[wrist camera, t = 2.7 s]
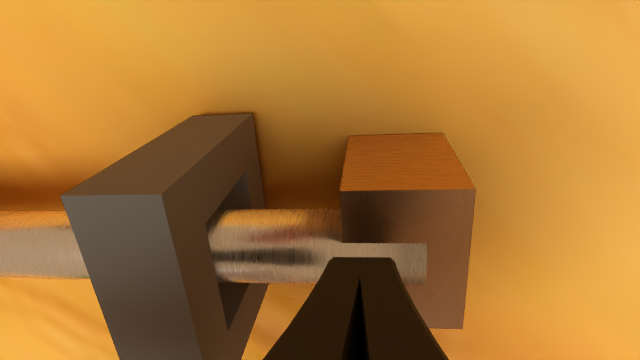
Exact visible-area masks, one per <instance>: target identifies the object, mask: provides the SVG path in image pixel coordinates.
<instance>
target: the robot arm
mask: <svg viewBox="0 0 640 360" xmlns="http://www.w3.org/2000/svg"><path fill="white" fill-rule="evenodd" d="M263 360H449V359H448V358H447V356H446V355H445V353H444V352H443V350H442V349H441V347H440V346H439V344H438V343H437V341H436V340H435V338H434V337H433V335H432V333H431V332H430V330H429V328H428V327H427V325H426V323H425V322H424V320H423V318H422V317H421V315H420V313H419V312H418V310H417V308H416V306H415V305H414V303H413V301H412V299H411V297H410V295H409V293H408V291H407V289H406V287H405V285H404V283H403V281H402V279H401V277H400V274H399V272H398V269H397V266H396V263H395V261H393V260H392V259H391V258H390V257H333V258H332V259H330V260H329V261H328V263H327V265H326V267H325V269H324V271H323V273H322V275H321V277H320V278H319V280H318V282H317V284H316V285H315V287H314V289H313V290H312V292H311V293H310V295H309V297H308V298H307V300H306V301H305V303H304V304H303V306H302V307H301V309H300V310H299V312H298V313H297V315H296V316H295V317H294V319H293V320H292V322H291V323H290V325H289V326H288V328H287V329H286V330H285V332H284V333H283V334H282V335H281V337H280V338H279V339H278V341H277V342H276V343H275V344H274V346H273V347H272V348H271V350H270V351H269V352H268V354H267V355H266V356H265V357H264V359H263Z"/></svg>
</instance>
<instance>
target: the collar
mask: <svg viewBox="0 0 640 360" xmlns="http://www.w3.org/2000/svg"><path fill="white" fill-rule="evenodd" d="M60 197H61V200H62V202H63V205H64V208H65V211H66V213H67V216H68V219H69V222H70V224H71V227H72V230H73V233H74V235H75V238H76V241H77V244H78V246H79V249H80V252H81V255H82V257H83V260H84V263H85V266H86V268H87V271H88V274H89V277H90V279H91V282H92V285H93V288H94V290H95V293H96V296H97V299H98V301H99V304H100V307H101V310H102V312H103V315H104V318H105V321H106V323H107V326H108V329H109V332H110V334H111V337H112V340H113V343H114V345H115V348H116V351H117V354H118V356H119V359H120V360H241V358H242V355H243V352H244V350H245V347H246V344H247V342H248V339H249V336H250V333H251V331H252V328H253V325H254V323H255V320H256V317H257V314H258V312H259V309H260V306H261V303H262V301H263V298H264V295H265V293H266V290H267V287H268V284H269V283H234V282H217V278H216V273H215V268H214V263H213V258H212V254H211V249H210V244H209V239H208V235H207V230H206V225H205V224H206V222H207V221H208V220H209V218H210V217H211V216H212V214H213V213H214V212H215V210H233V209H266V208H265V201H264V194H263V186H262V179H261V172H260V165H259V158H258V150H257V143H256V136H255V129H254V121H253V114H252V113H249V114H225V115H201V116H192V117H190V118H188V119H187V120H185V121H183V122H182V123H180V124H178V125H177V126H175V127H174V128H172V129H170V130H169V131H167V132H165V133H164V134H162V135H160V136H159V137H157V138H155V139H154V140H152V141H150V142H149V143H147V144H145V145H144V146H142V147H140V148H139V149H137V150H135V151H134V152H132V153H130V154H129V155H127V156H125V157H124V158H122V159H120V160H119V161H117V162H115V163H114V164H112V165H110V166H109V167H107V168H105V169H104V170H102V171H101V172H99V173H97V174H96V175H94V176H92V177H91V178H89V179H87V180H86V181H84V182H82V183H81V184H79V185H77V186H76V187H74V188H72V189H71V190H69V191H67V192H66V193H64V194H62V195H61V196H60Z"/></svg>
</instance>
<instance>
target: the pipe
mask: <svg viewBox="0 0 640 360" xmlns="http://www.w3.org/2000/svg"><path fill="white" fill-rule="evenodd" d="M475 193H476V189H475V187H474V185H473V183H472V182H471V180H470V178H469V177H468V175H467V173H466V172H465V170H464V168H463V166H462V165H461V163H460V161H459V160H458V158H457V156H456V155H455V153H454V151H453V150H452V148H451V146H450V144H449V143H448V141H447V139H446V138H445V136H444V134H443V133H424V134H393V135H362V136H349V137H348V143H347V149H346V155H345V161H344V167H343V173H342V180H341V186H340V207H341V209H233V210H215V212H214V213H213V214H212V216H211V217H210V218H209V220H208V221H207V222H206V224H205V225H206V230H207V235H208V239H209V244H210V249H211V254H212V258H213V263H214V268H215V273H216V278H217V282H234V283H289V284H317V282H318V280H319V278H320V277H321V275H322V273H323V271H324V269H325V267H326V265H327V263H328V261H329V260H330V259H332V258H333V257H390V258H391V259H392V260H393V261H395V263H396V266H397V269H398V272H399V274H400V277H401V279H402V281H403V283H404V285H405V287H406V289H407V291H408V293H409V295H410V297H411V299H412V301H413V303H414V305H415V306H416V308H417V310H418V312H419V313H420V315H421V317H422V318H423V320H424V322H425V323H426V325H427V327H428V328H442V329H463V318H464V308H465V297H466V287H467V277H468V266H469V256H470V245H471V235H472V224H473V214H474V203H475ZM0 278H14V279H69V280H91V279H90V277H89V274H88V271H87V268H86V266H85V263H84V260H83V257H82V255H81V252H80V249H79V246H78V244H77V241H76V238H75V235H74V233H73V230H72V227H71V224H70V222H69V219H68V216H67V213H66V211H0Z"/></svg>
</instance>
